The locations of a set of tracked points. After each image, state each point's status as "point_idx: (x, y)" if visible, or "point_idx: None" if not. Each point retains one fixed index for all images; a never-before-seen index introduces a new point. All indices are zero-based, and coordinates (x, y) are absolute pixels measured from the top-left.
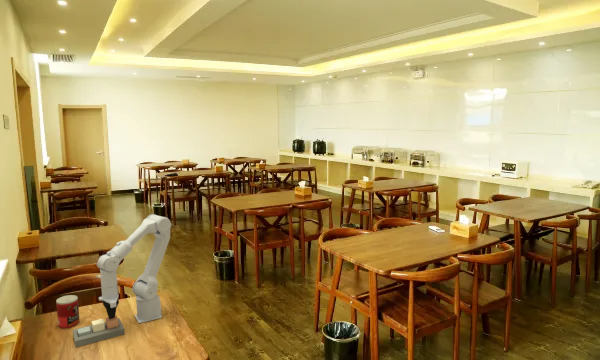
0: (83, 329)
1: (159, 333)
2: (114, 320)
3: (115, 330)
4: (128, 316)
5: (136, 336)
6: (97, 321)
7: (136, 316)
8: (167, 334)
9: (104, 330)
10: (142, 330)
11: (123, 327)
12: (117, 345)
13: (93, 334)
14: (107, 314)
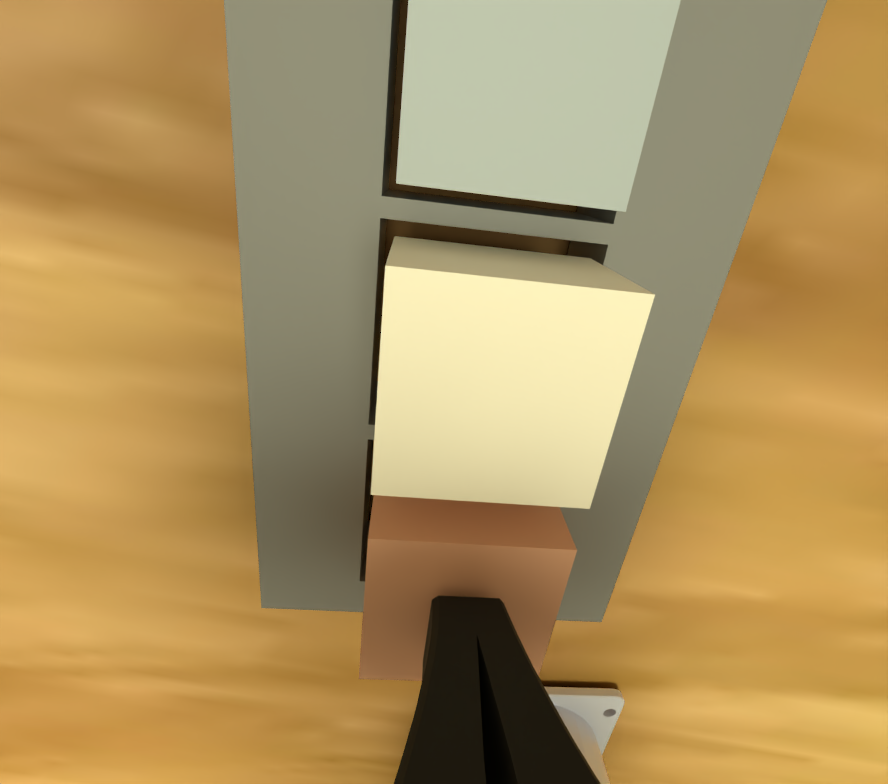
0: (566, 53)
1: (126, 747)
2: (364, 629)
3: (263, 521)
4: (671, 647)
5: (167, 614)
6: (532, 400)
7: (582, 703)
8: (74, 779)
9: (361, 404)
10: (271, 673)
11: (295, 607)
12: (30, 428)
13: (323, 217)
14: (516, 658)
